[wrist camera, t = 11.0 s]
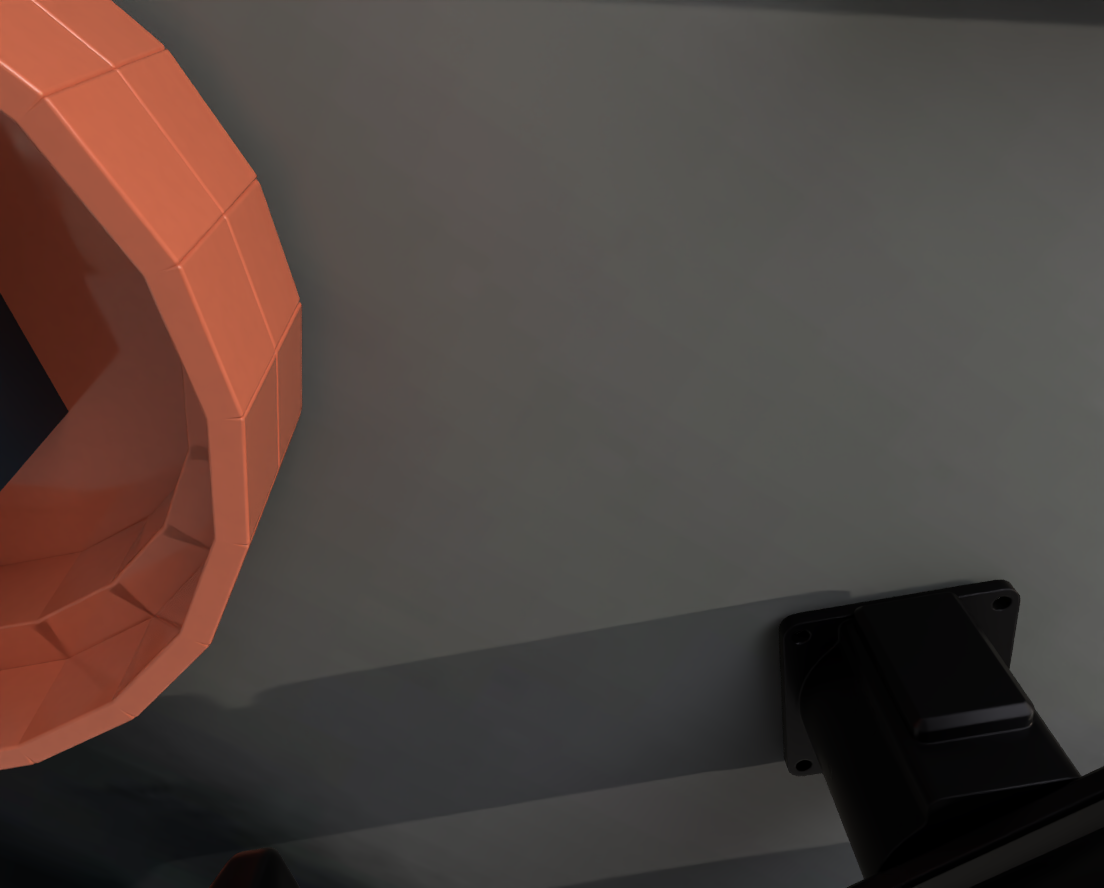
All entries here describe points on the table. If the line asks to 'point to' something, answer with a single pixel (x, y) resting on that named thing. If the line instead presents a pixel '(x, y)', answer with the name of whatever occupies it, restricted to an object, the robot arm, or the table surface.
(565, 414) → the table surface
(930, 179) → the table surface
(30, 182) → the terracotta bowl
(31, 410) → the watch
